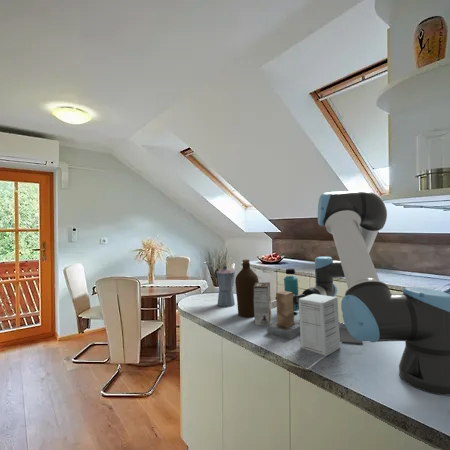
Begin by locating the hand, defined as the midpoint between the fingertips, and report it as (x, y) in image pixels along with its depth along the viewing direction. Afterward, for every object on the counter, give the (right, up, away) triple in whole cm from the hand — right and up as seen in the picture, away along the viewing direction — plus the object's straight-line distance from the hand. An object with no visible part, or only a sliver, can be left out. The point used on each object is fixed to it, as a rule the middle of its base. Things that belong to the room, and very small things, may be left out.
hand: (285, 308), depth 120 cm
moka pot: (-23, -10, +44) cm, 50 cm away
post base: (0, -9, -1) cm, 9 cm away
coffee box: (-7, -10, +13) cm, 18 cm away
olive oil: (-12, -10, +25) cm, 30 cm away
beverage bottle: (+8, -9, +25) cm, 27 cm away
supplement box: (+8, -9, -16) cm, 20 cm away
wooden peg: (0, -9, -1) cm, 9 cm away
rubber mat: (+19, -9, -6) cm, 22 cm away
